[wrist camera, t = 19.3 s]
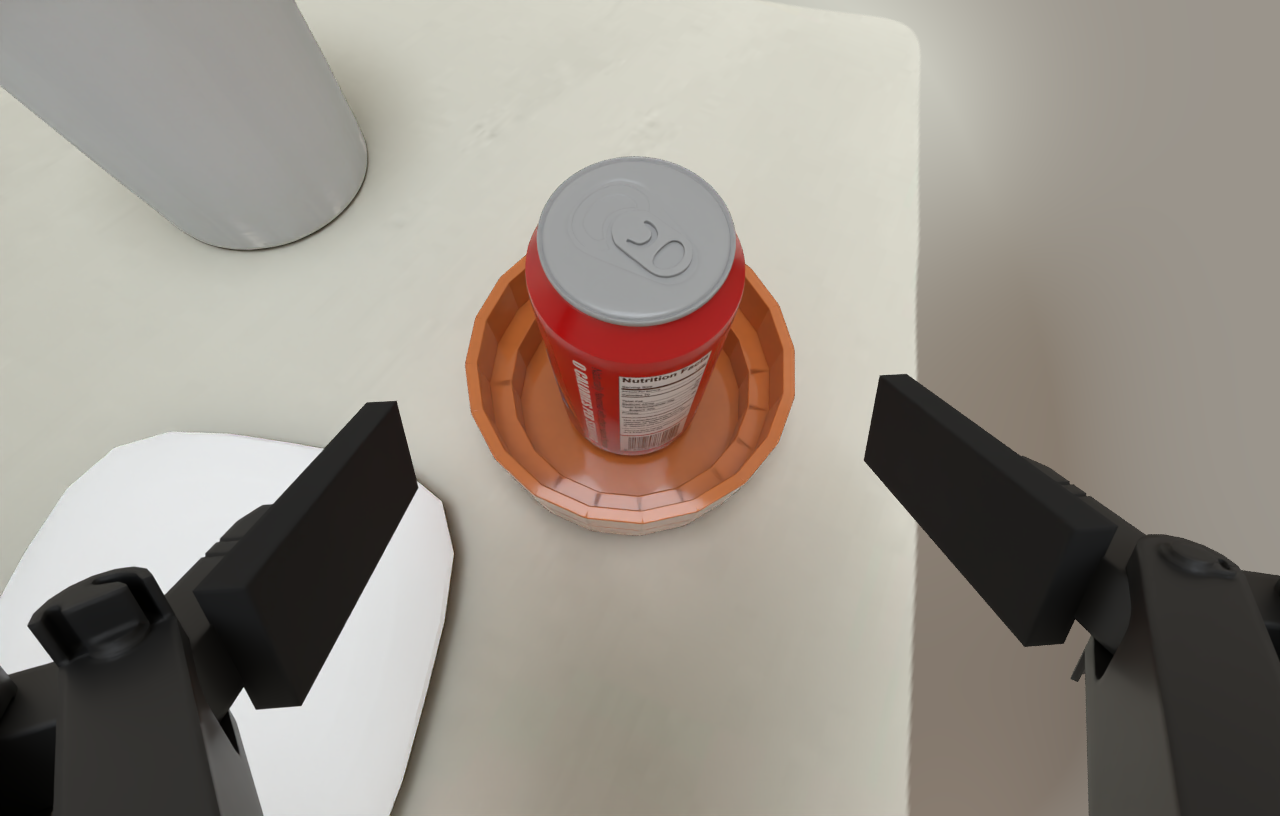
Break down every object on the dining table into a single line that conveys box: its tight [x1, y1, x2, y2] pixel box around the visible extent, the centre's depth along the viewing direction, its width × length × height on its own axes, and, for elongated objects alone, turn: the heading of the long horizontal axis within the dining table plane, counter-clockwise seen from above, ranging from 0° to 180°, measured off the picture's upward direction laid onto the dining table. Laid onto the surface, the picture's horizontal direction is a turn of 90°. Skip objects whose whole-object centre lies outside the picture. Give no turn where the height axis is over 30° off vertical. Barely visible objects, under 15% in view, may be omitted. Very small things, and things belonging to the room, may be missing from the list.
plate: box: [0, 431, 455, 816], centre depth 26 cm, size 22×22×2 cm
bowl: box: [465, 255, 795, 536], centre depth 29 cm, size 16×16×6 cm
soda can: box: [525, 156, 745, 456], centre depth 24 cm, size 8×8×15 cm
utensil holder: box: [0, 0, 367, 250], centre depth 28 cm, size 15×15×18 cm
